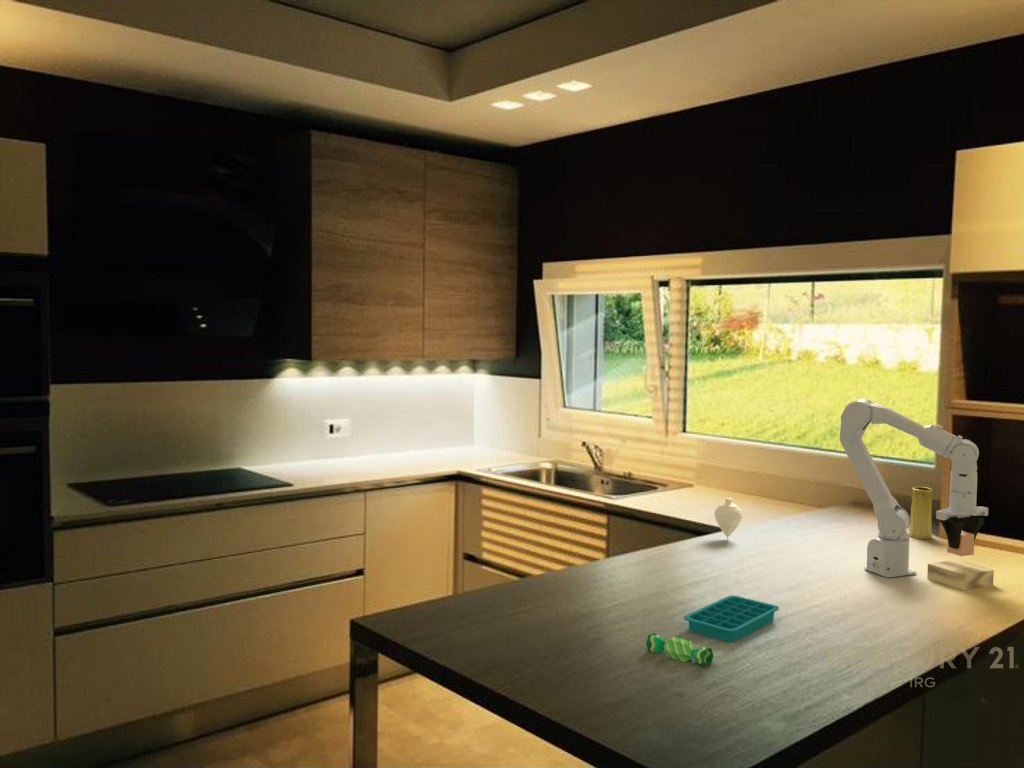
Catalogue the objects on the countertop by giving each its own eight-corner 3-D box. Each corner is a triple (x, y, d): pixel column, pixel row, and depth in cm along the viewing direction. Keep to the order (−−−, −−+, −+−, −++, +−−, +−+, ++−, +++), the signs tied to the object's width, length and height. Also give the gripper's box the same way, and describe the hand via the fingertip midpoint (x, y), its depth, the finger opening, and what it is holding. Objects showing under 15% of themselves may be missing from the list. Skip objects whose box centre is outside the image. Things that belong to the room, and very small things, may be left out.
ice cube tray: (681, 631, 173) (681, 617, 173) (731, 608, 188) (731, 594, 187) (732, 646, 165) (733, 631, 165) (781, 620, 180) (781, 606, 179)
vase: (927, 534, 252) (929, 486, 251) (935, 539, 246) (937, 490, 245) (905, 533, 253) (907, 486, 252) (913, 539, 247) (915, 490, 246)
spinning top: (708, 538, 248) (709, 497, 247) (729, 535, 251) (730, 494, 250) (725, 544, 241) (726, 502, 240) (747, 541, 244) (748, 499, 243)
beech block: (963, 591, 199) (964, 574, 199) (927, 579, 209) (927, 563, 208) (993, 586, 203) (993, 570, 203) (956, 575, 213) (956, 559, 212)
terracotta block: (961, 556, 203) (961, 535, 203) (947, 552, 207) (947, 531, 207) (973, 554, 205) (974, 534, 204) (959, 550, 208) (960, 530, 208)
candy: (644, 649, 161) (650, 628, 162) (651, 654, 163) (658, 634, 165) (701, 666, 153) (708, 644, 155) (708, 671, 155) (715, 649, 157)
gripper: (954, 496, 198) (952, 554, 199) (1000, 492, 203) (997, 548, 204) (929, 490, 205) (927, 546, 206) (974, 486, 210) (972, 541, 211)
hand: (961, 547), depth 206 cm, fingers closed on terracotta block, 4 cm apart
